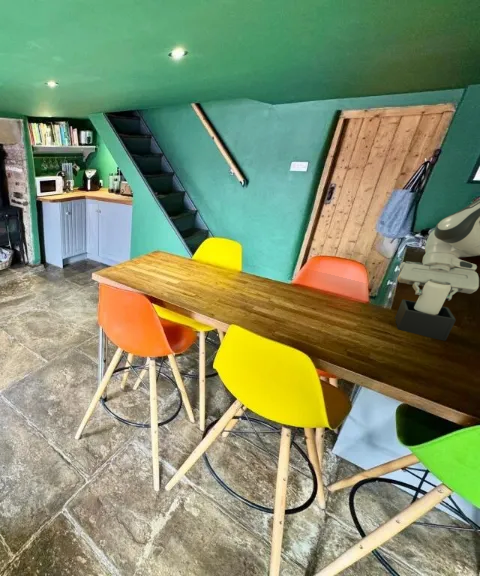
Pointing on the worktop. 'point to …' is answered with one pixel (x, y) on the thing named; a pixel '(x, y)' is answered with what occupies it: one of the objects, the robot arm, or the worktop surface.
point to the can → (432, 297)
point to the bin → (424, 321)
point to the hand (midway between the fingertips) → (432, 296)
